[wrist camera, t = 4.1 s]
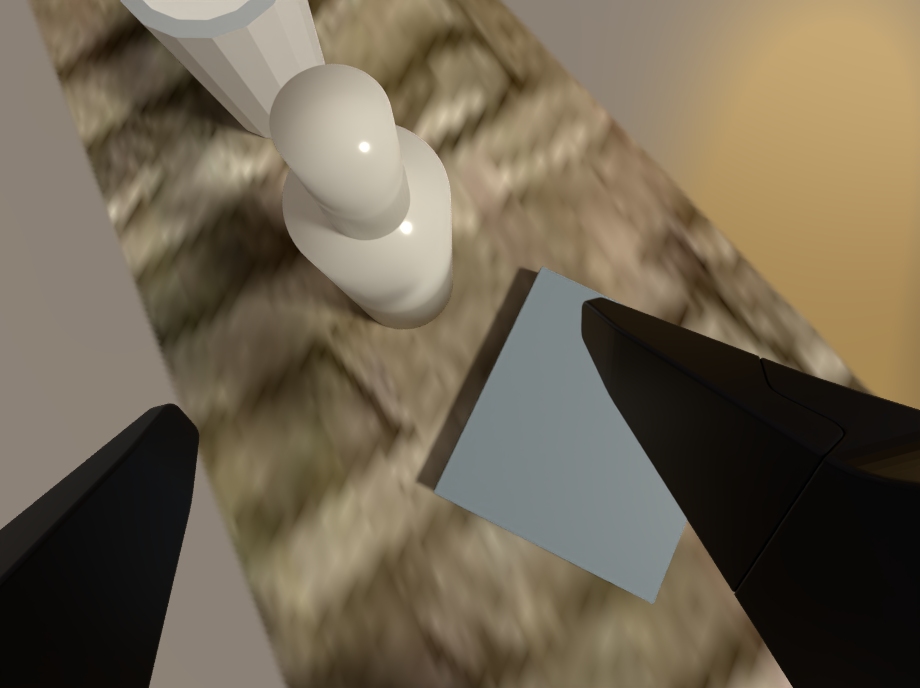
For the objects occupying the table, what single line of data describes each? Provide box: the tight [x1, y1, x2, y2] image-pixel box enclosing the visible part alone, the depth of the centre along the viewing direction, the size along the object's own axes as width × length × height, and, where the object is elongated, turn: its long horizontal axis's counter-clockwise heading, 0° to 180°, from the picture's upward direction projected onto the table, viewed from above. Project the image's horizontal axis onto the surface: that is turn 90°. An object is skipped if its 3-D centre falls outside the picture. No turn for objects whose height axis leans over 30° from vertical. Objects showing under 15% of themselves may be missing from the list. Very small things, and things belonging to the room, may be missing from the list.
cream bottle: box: [269, 64, 453, 329], centre depth 15 cm, size 5×5×12 cm
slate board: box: [434, 266, 687, 604], centre depth 20 cm, size 12×11×1 cm
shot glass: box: [120, 0, 325, 138], centre depth 19 cm, size 7×7×7 cm
